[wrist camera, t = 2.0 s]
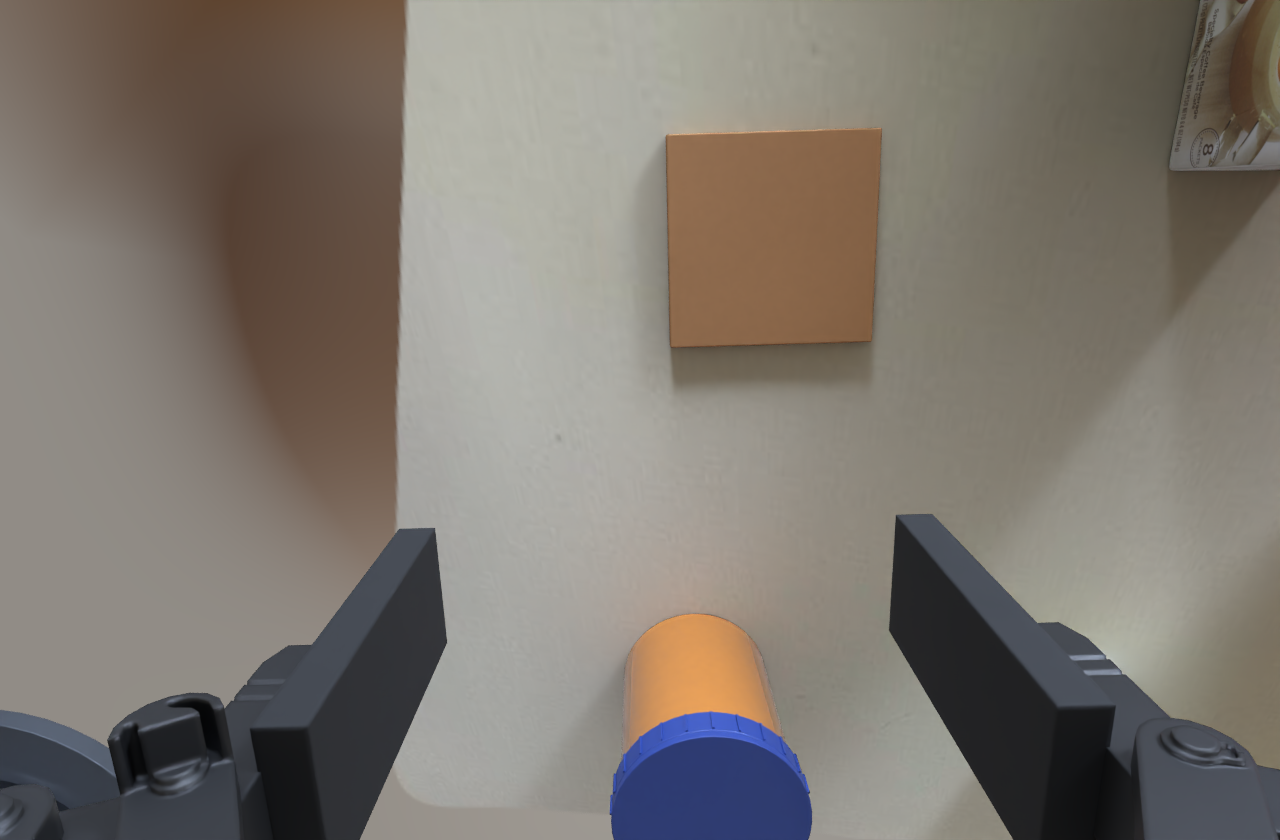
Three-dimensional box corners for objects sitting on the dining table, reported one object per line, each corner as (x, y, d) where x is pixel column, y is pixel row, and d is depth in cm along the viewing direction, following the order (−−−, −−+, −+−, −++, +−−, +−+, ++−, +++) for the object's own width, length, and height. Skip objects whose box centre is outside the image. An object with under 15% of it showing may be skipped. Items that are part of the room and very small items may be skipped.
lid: (625, 882, 37) (624, 913, 35) (598, 721, 34) (596, 747, 33) (812, 862, 36) (820, 893, 35) (797, 699, 34) (805, 724, 32)
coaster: (669, 345, 39) (670, 347, 39) (665, 135, 37) (666, 134, 36) (868, 340, 39) (872, 341, 39) (878, 128, 37) (882, 127, 36)
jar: (626, 738, 45) (622, 889, 35) (621, 614, 43) (616, 737, 33) (763, 735, 45) (799, 885, 35) (766, 611, 43) (804, 733, 33)
